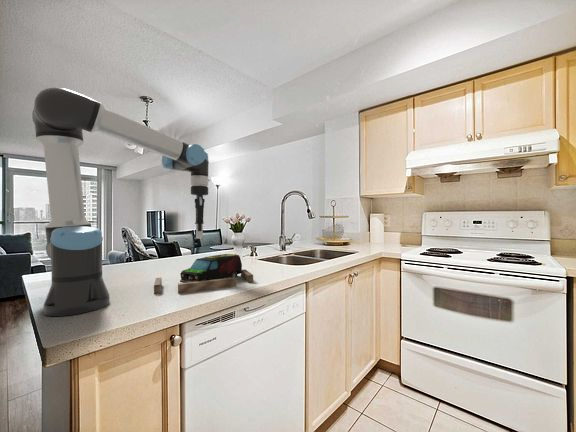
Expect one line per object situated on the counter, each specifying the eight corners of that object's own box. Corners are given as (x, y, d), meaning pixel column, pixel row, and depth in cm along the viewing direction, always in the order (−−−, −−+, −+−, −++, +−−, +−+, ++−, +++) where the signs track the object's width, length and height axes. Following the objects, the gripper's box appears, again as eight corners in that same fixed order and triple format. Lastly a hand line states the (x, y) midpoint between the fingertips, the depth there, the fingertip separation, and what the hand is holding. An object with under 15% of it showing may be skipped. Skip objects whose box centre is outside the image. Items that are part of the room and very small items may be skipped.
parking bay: (153, 296, 87) (153, 287, 87) (155, 285, 101) (155, 277, 101) (255, 284, 101) (255, 276, 101) (245, 276, 115) (245, 269, 115)
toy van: (178, 286, 99) (178, 260, 99) (225, 274, 121) (225, 252, 121) (197, 290, 94) (197, 262, 94) (243, 276, 115) (243, 253, 115)
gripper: (210, 184, 114) (209, 239, 114) (206, 188, 126) (206, 237, 126) (191, 183, 111) (191, 239, 111) (189, 187, 123) (189, 237, 123)
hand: (199, 238), depth 118 cm, fingers closed
